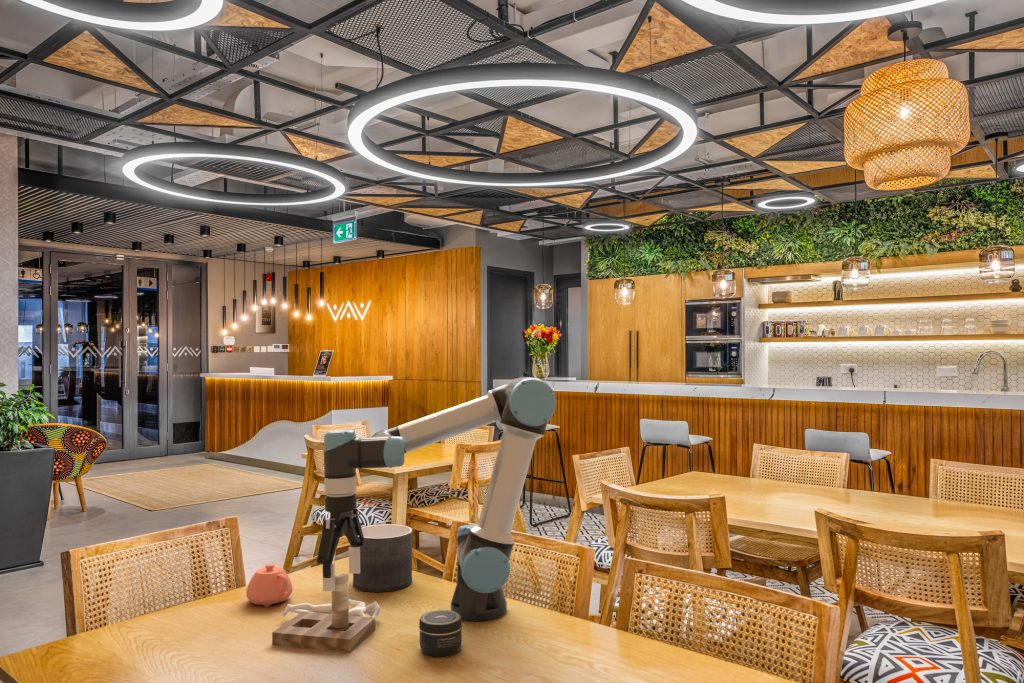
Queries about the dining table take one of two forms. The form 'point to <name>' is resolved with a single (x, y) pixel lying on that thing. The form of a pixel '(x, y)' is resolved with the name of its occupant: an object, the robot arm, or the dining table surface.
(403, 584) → the planter
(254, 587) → the sugar bowl
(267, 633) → the dining table surface
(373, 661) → the dining table surface
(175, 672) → the dining table surface
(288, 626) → the board
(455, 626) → the jar
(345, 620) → the leg
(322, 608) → the figurine
